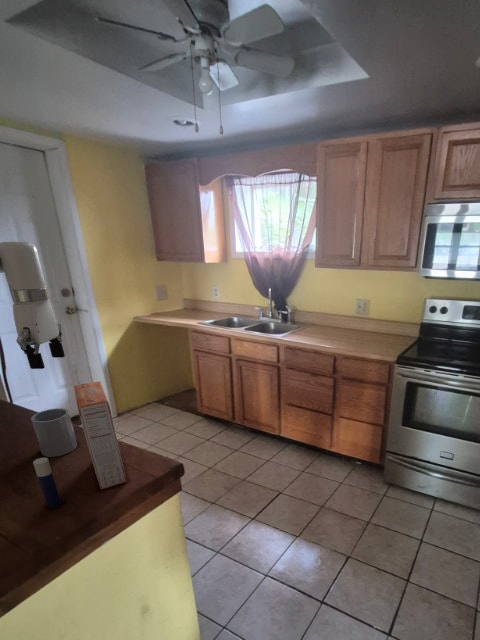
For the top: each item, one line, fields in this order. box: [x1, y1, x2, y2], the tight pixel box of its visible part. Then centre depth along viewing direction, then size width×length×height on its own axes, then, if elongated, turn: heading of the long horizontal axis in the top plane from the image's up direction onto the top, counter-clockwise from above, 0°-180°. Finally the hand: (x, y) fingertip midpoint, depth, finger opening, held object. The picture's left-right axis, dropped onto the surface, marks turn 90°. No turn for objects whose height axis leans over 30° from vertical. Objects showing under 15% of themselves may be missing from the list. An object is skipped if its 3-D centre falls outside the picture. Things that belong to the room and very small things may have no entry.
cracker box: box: [73, 380, 128, 490], centre depth 85 cm, size 14×6×21 cm, turn 33°
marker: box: [32, 457, 62, 510], centre depth 76 cm, size 2×2×11 cm
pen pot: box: [30, 407, 78, 458], centre depth 97 cm, size 8×8×10 cm
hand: (48, 362), depth 98 cm, fingers open, 9 cm apart
